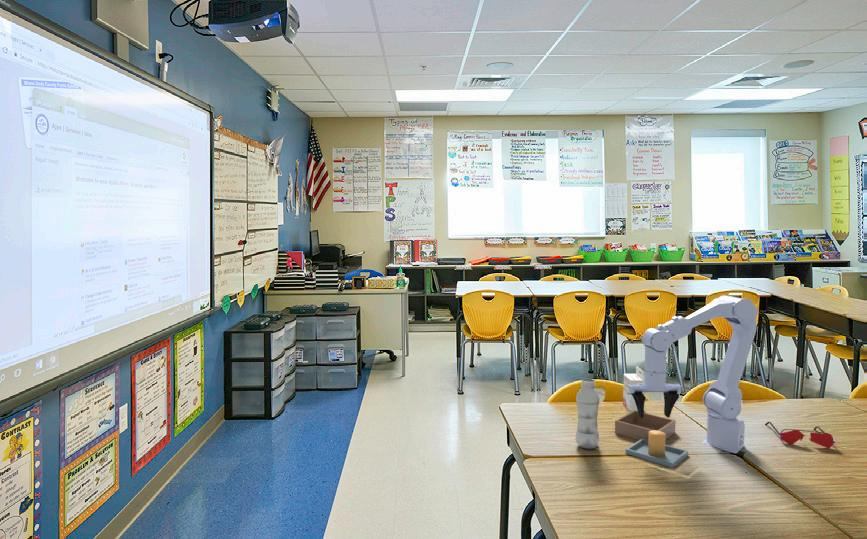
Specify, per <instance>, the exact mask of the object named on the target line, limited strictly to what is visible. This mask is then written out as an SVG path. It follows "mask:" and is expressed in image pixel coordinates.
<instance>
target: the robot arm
mask: <svg viewBox="0 0 867 539" xmlns="http://www.w3.org/2000/svg"><path fill="white" fill-rule="evenodd" d="M758 311H759V308H758V307H757V305H755V303H754V302H753V301H752V300H751V299H749V298H742V297H737V296H732V295H729V294H724V295H721V296H720V297H716V298H714V299H713V300H712V301H711V302H710V303H708V304H706V305H705V306H703V307H701V308H699V309H698V310H696V311H695V312H693V313H691V314H689V315H688V316H685V317H683V316H675V315H674V316H672V317H671V320H668V321H666V322H665V323H663V324H658V325H657V327H656V328H655V327H654V328H653V327H650V328H648V329H646V330H645V331H644V333H643V334H642V336H640V340H641V343H642V344H643V345H644V383H641V384H634V385H629V392H630V393H631V394H632V396H633V398H634V400H635V403H636V406H637V410H638V416H640V417H641V418H643V417H644V413H645V401H646V395H645V396H644V395H643V393H642V392H645V393H663V401H664V405H663V406H664V407H663V415H664V416H665V418H670V417H671V414H672V411H673V408H674V406H675V404H676V402H677V401H678V399H679V398H680V394H679V393H682V385H681V384H678V383H677V384H676V383H666V382H667V381H666V380H667V351H668V350H669V349H670V347H671V346H672V344H673V343H675V342H676V341H679V340H681V339H683V338H685V337H686V336H689V335H691V333H692V331H693V330H692V329H693V328H696V327H698V326H699V325H703V324H705V323H707V322H709V321H711V320H713V319H716V318H723V319H725V320H726V321H727V322H728V324H729V326H731V329H732V330H733V331H732V334H731V336H730V339H729V343H728V345H727V348H726V352H725V355H724V359H723V361H722V364H721V368H720V370H719V374H718V377H717V380H714V381H713V382H711V383H710V384H709V387H708V389H707V390H706V391H705V392H704V394H703V396H702V403H703V405H704V407H706V412H707V416H706V417H707V418H706V438H705V439H704V440H703V441H701V444H703V445H707V446H710V447H715V448H718V450H721V451H725V452H728V453H732V454H738V453H739V452H740V451H741V450H742V449H743V448H744V447H745V429H746V427H745V426H746V424H745V421H744V420H743V419H739V418H738V417H739V415H740V414H741V412H742V409H743V408H742V399H743V395H742V393H741V390H740V387H739V386H740V381H741V379H742V377H743V372H744V369H745V366H746V364H747V359H748V358H749V354H750V350H751V347H752V345H753V342H754V339H755V336H756V332H757V328H758V327H757V315H758Z"/></svg>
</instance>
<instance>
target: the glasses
mask: <svg viewBox="0 0 867 539" xmlns="http://www.w3.org/2000/svg"><path fill="white" fill-rule="evenodd" d="M769 424H770V426H771V427H772V428H773V429H774V430H775V431H776V433H777V434H778V435H779V439H780V440H781V441H782V442H784V443H786V444H787V443H788V445H793V444H796V443H797V442H798V441H800V442H802V440H803V439H804V437H805V436H806V434H804V433H802V432H806V430H805V429H804V430H803V429H793V428H784V429H782V430H781V431H780V432H779V430H777V427H775V425H773V423H772V422H771V421H767V422H766V423H765V424H764V426H768V425H769ZM813 429H814V430H807V433H808V432H810V433H809V434H810V438H809V441H810V442H812V443H814V444H816V445H819V446H821V447H824V448H826V447H829V448H828V449H830V448H832V447H833V445H834V444H835V443H836V441H835V440H834V436H833V435H832V434H831V433H828V432H825V431H824V430H823V429H822V428H821V427H820V426H819V425H818V426H815V427H813ZM817 429H819V430H820V431H816V430H817ZM787 430H788V431H787ZM784 431H785V432H784Z"/></svg>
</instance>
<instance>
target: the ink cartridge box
mask: <svg viewBox="0 0 867 539" xmlns="http://www.w3.org/2000/svg"><path fill="white" fill-rule="evenodd" d="M635 371H636V372H635V373H623V387H622V388H623V389H622V391H623V393H622V406H625V407H626V408H627V409H628V410H629V411H630V412H632V411H634V410H636V411H638V410H637V406H636V403H635V400H634V398H633V396H632V394H631V393H630V392H629V385H634V384H641V383H644V373H645V370H642V369H641V368H640V367H639V366H638V365H635ZM642 393H643V395H644V396H645V397H646V395H645V393H646V392H642Z"/></svg>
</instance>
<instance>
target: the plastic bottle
mask: <svg viewBox="0 0 867 539" xmlns="http://www.w3.org/2000/svg"><path fill="white" fill-rule="evenodd" d="M580 386H581V388H580V389H579V390H578V392H577V393H576V397H575V399H576V406H577V407H576V408H577V427H576V428H577V429H576V432H575V441H576V444H577V446H578V447H580V448H583V449H587V450H592V449H597V447H598V446H599V444H600V443H599V442H600V434H599V428H598V425H599V424H598V414H599V413H598V412H599V408H600V407H599V406H600V395H599V393H598V392H597V391H596V390H595V389H596V380H595V379H592V378H588V377H587V378H582V379H581V385H580Z"/></svg>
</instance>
